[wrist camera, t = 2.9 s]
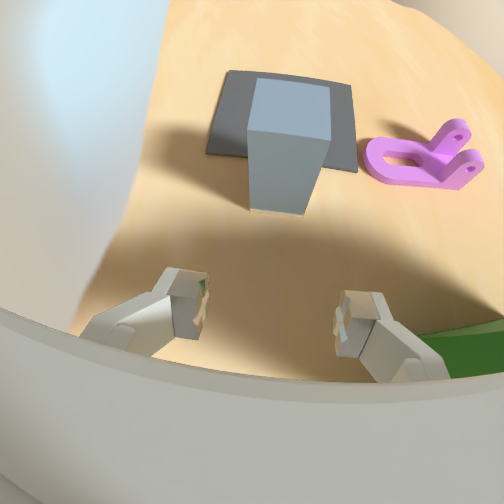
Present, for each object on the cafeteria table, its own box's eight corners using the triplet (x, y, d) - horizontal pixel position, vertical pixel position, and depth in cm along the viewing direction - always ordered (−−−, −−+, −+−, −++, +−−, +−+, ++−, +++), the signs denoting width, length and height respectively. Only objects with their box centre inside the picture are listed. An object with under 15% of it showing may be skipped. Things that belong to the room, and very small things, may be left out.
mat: (356, 173, 29) (358, 171, 29) (206, 154, 30) (205, 152, 29) (350, 87, 33) (350, 85, 33) (229, 72, 34) (229, 70, 33)
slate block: (302, 217, 28) (331, 141, 16) (249, 211, 28) (246, 129, 16) (305, 172, 29) (329, 87, 18) (256, 166, 29) (257, 77, 18)
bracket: (445, 152, 30) (472, 122, 24) (458, 190, 29) (490, 163, 22) (358, 142, 30) (377, 102, 24) (368, 184, 29) (392, 147, 22)
